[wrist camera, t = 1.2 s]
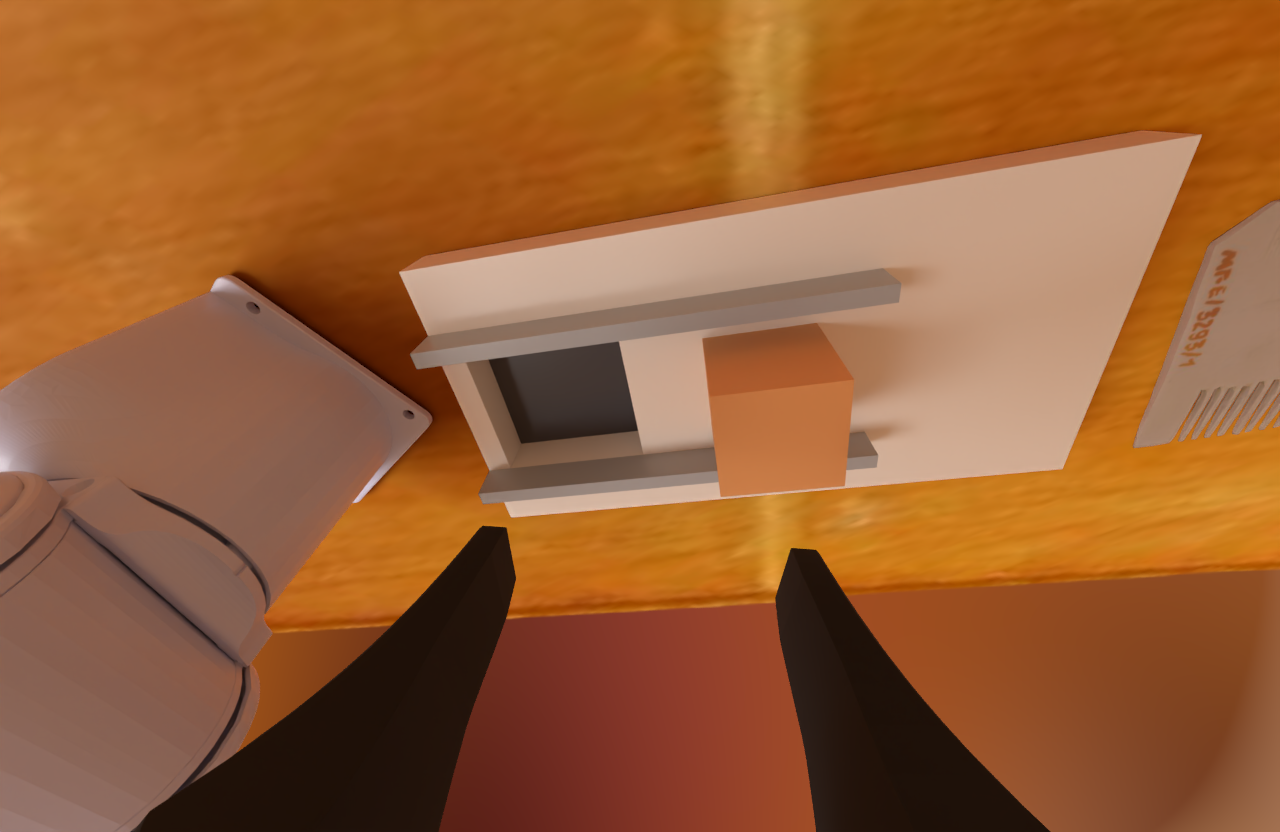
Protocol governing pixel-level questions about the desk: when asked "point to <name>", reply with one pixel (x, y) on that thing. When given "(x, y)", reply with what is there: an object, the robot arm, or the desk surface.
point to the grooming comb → (1224, 339)
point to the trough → (806, 322)
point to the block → (778, 410)
